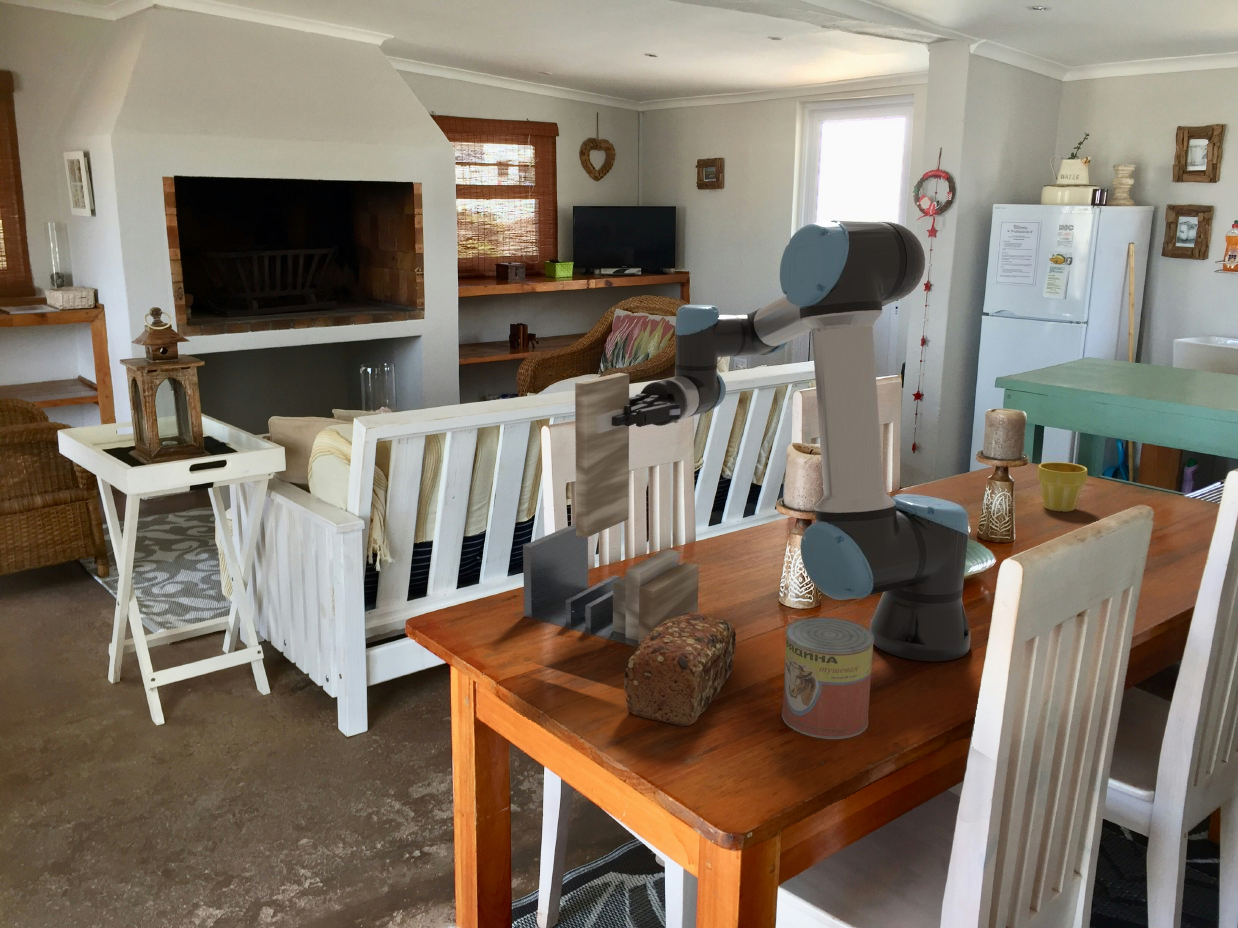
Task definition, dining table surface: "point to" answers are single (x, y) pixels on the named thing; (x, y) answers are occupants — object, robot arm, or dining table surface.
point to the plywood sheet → (601, 456)
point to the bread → (680, 668)
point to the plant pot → (1061, 484)
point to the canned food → (827, 677)
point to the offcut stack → (654, 594)
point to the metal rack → (567, 586)
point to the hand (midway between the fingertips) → (590, 423)
